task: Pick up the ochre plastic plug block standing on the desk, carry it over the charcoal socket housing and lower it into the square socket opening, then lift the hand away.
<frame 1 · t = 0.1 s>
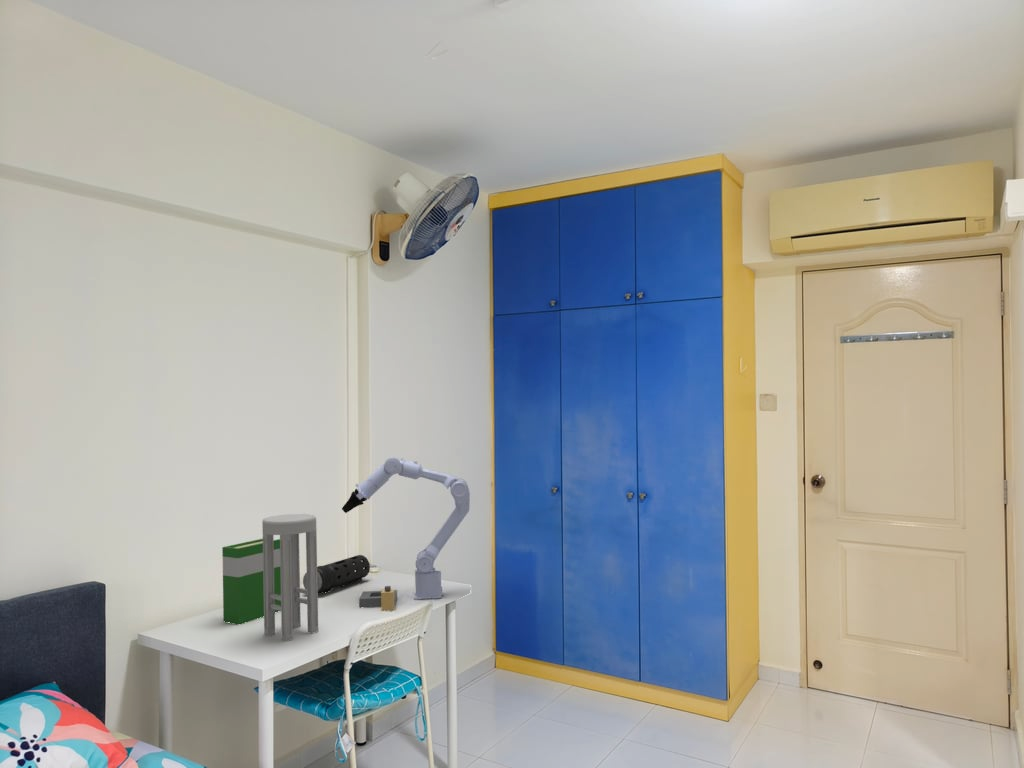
hand: (345, 509, 260), 32 cm above the table, tool tilted 50°, fingers open, 7 cm apart
muzzle brake: (337, 589, 277), on the table
socket housing: (378, 603, 254), on the table
plug: (388, 609, 246), on the table
stool: (291, 633, 223), on the table
hardback book: (253, 616, 242), on the table
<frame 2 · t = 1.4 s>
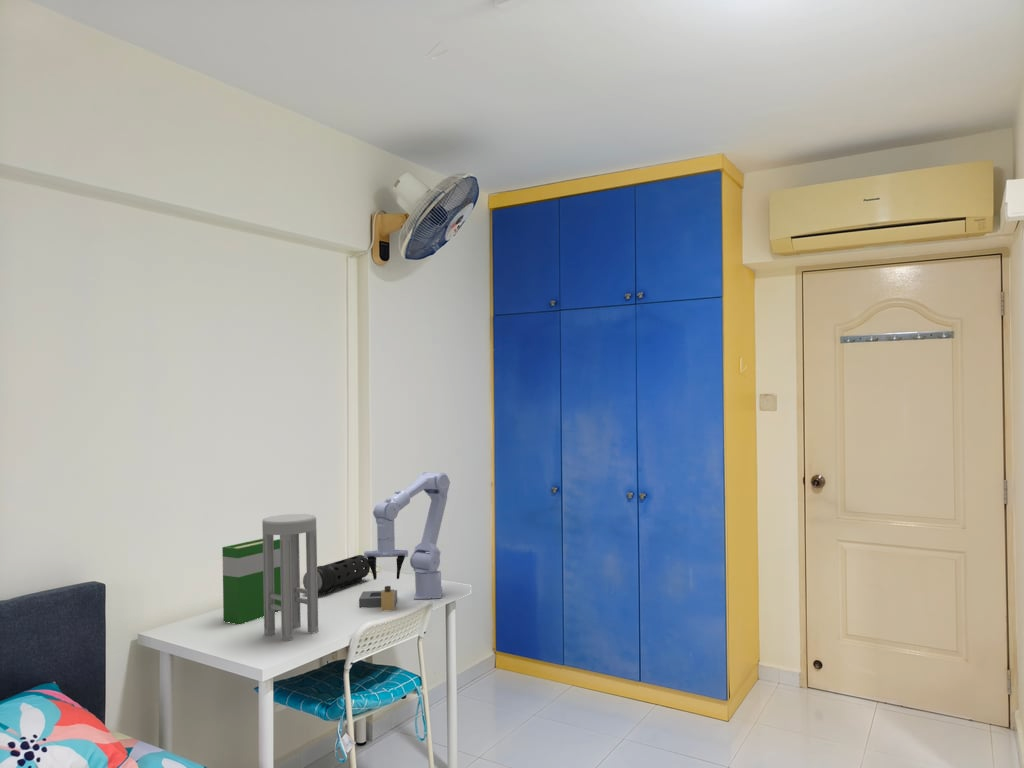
hand: (386, 578, 247), 10 cm above the table, tool pointing down, fingers open, 7 cm apart
nothing on the table moved.
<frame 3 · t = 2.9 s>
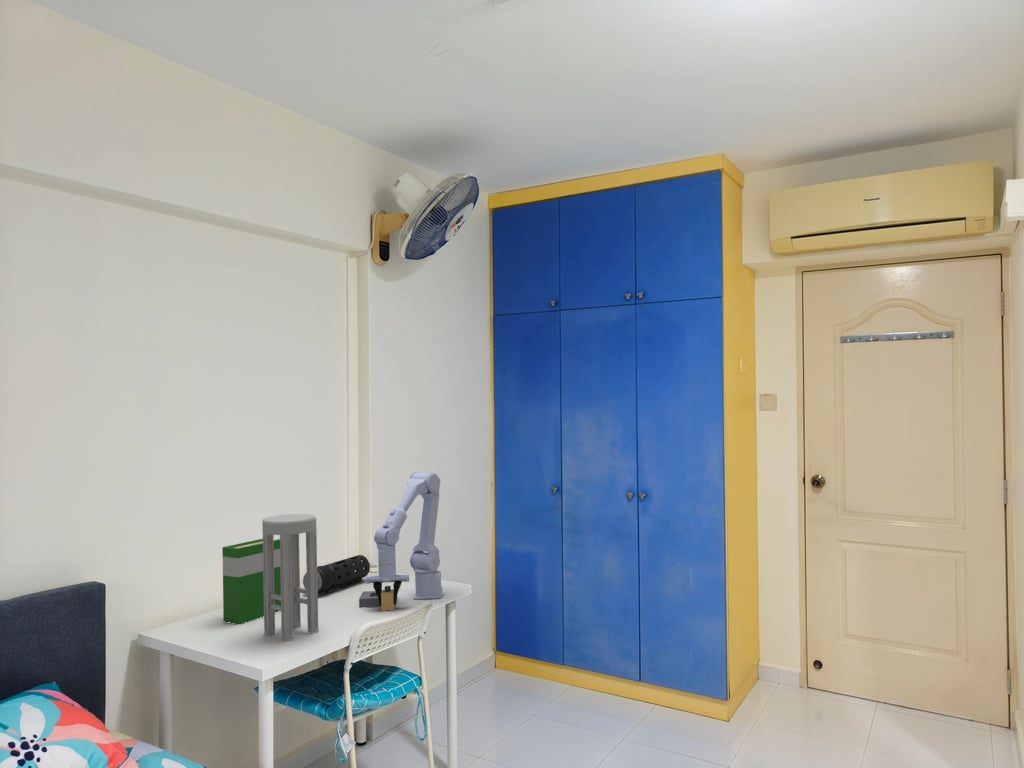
hand: (388, 604, 246), 2 cm above the table, tool pointing down, fingers closed on plug, 4 cm apart
plug: (388, 608, 246), on the table, touching gripper
everything else where it was.
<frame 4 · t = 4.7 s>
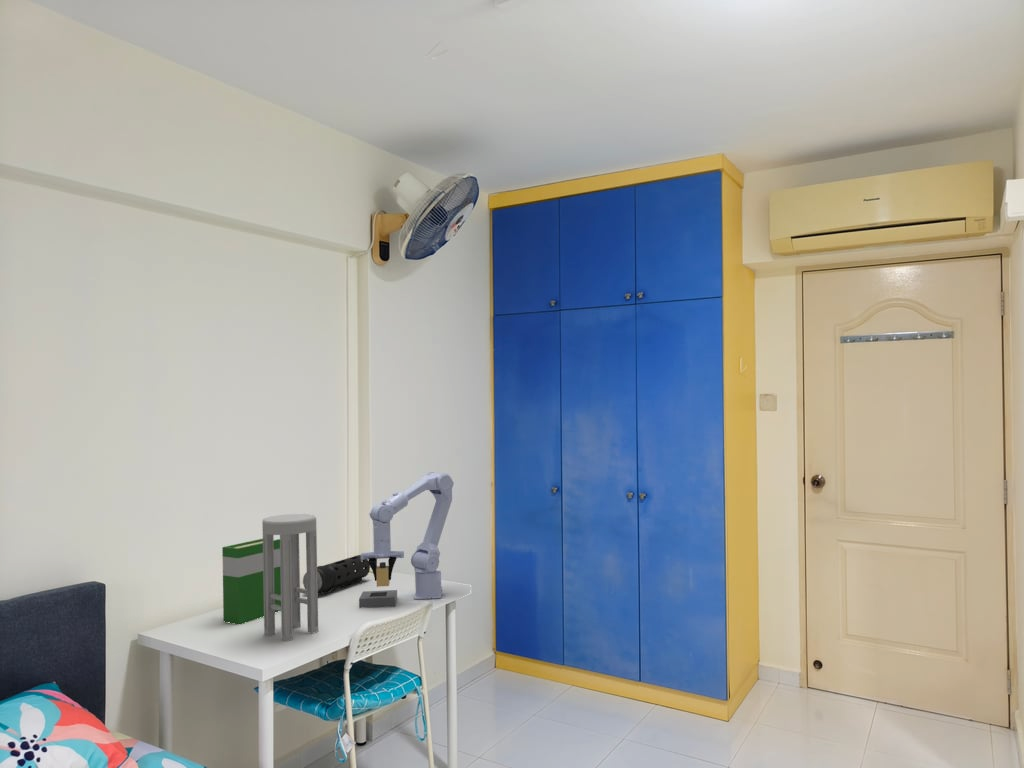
hand: (383, 579, 250), 9 cm above the table, tool pointing down, fingers closed on plug, 4 cm apart
plug: (383, 584, 250), point 7 cm above the table, touching gripper
everything else where it was.
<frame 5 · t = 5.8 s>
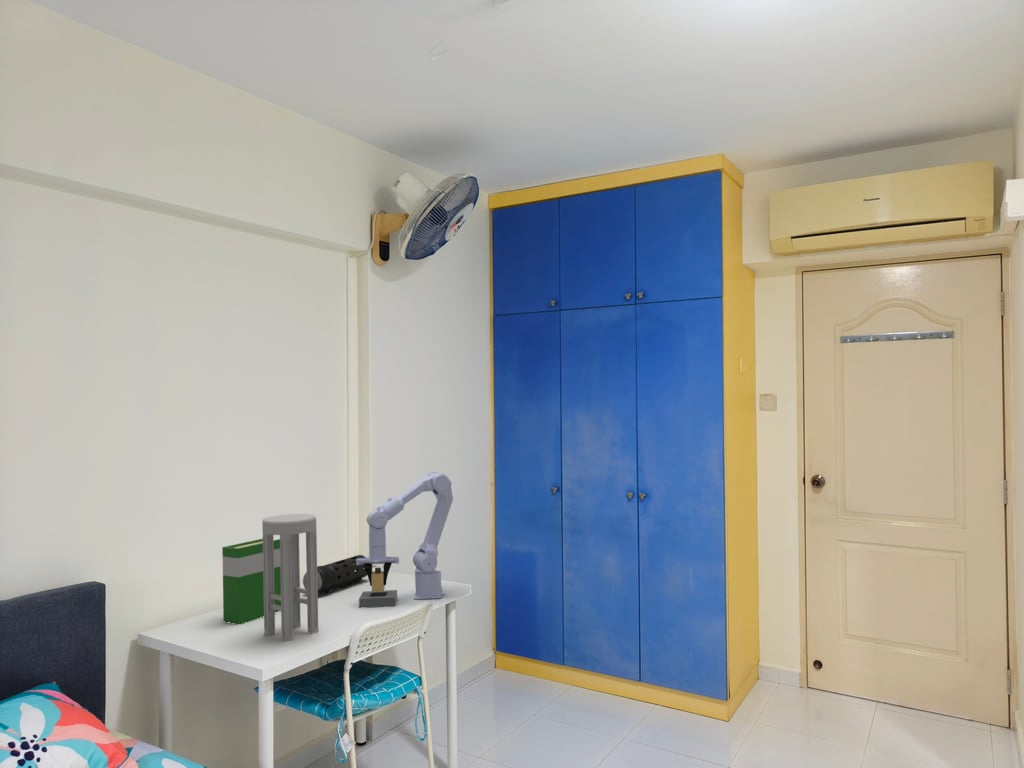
hand: (378, 584, 254), 6 cm above the table, tool pointing down, fingers closed on plug, 4 cm apart
plug: (378, 589, 254), point 5 cm above the table, touching gripper
everything else where it was.
when the fingers open (4 cm above the table, at t = 6.7 s): plug drops 2 cm, resting in socket housing.
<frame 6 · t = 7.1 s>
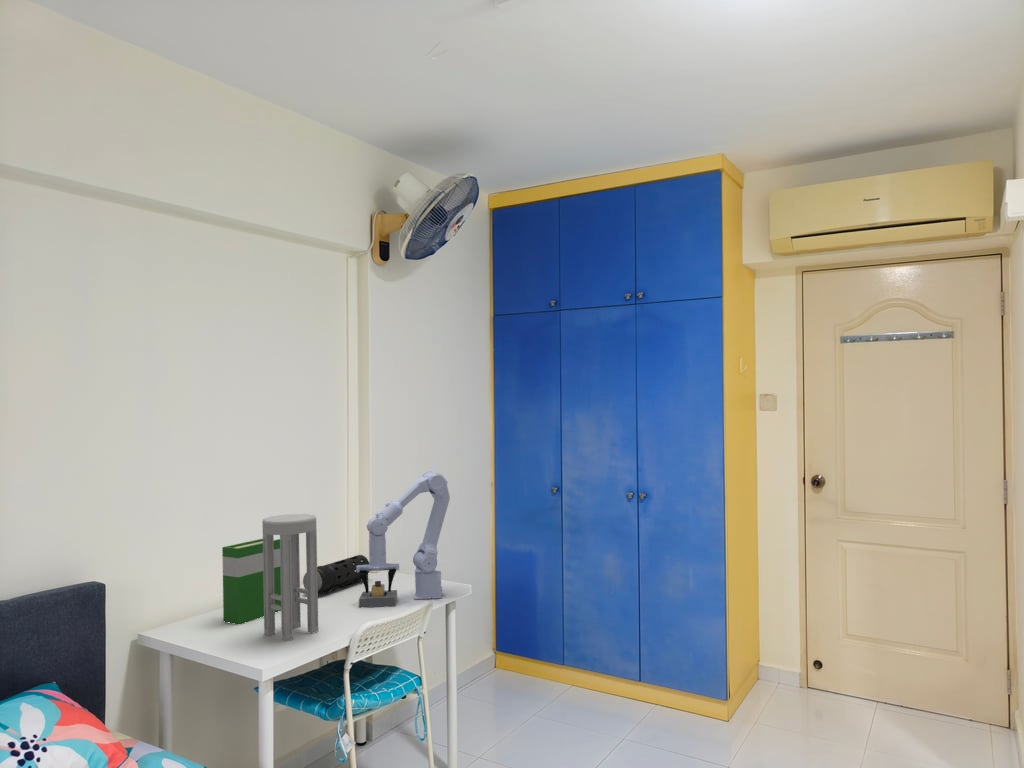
hand: (378, 591, 254), 4 cm above the table, tool pointing down, fingers open, 7 cm apart
plug: (378, 603, 254), resting in socket housing
everything else where it was.
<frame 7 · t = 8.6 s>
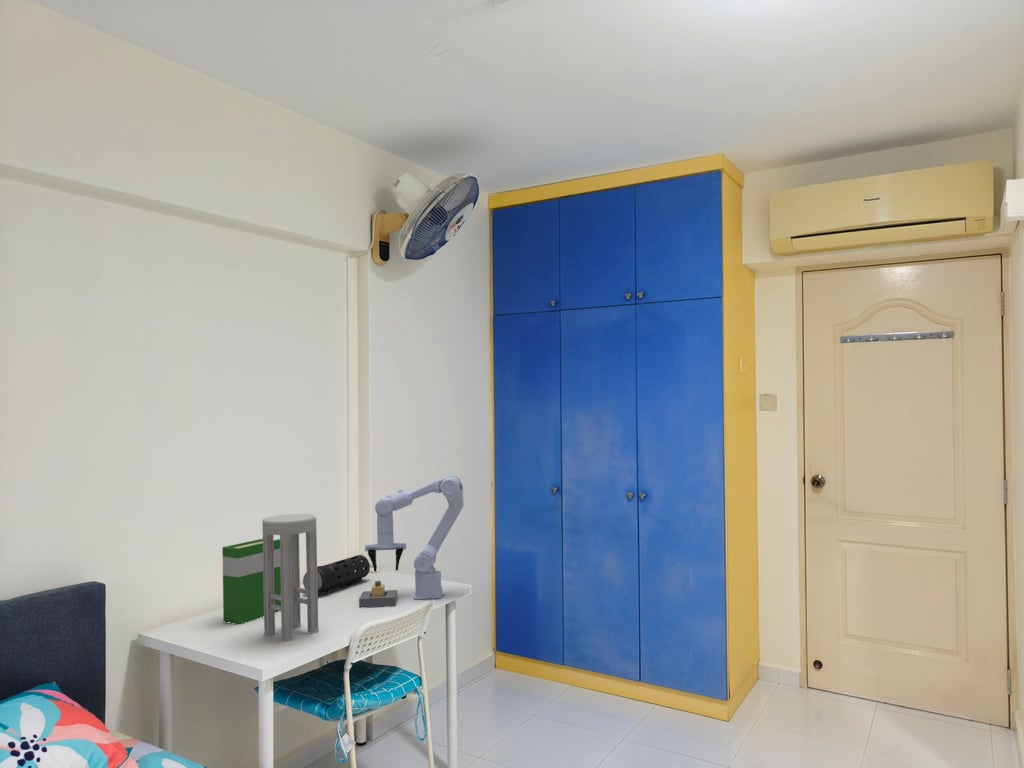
hand: (386, 570, 262), 9 cm above the table, tool pointing down, fingers open, 7 cm apart
nothing on the table moved.
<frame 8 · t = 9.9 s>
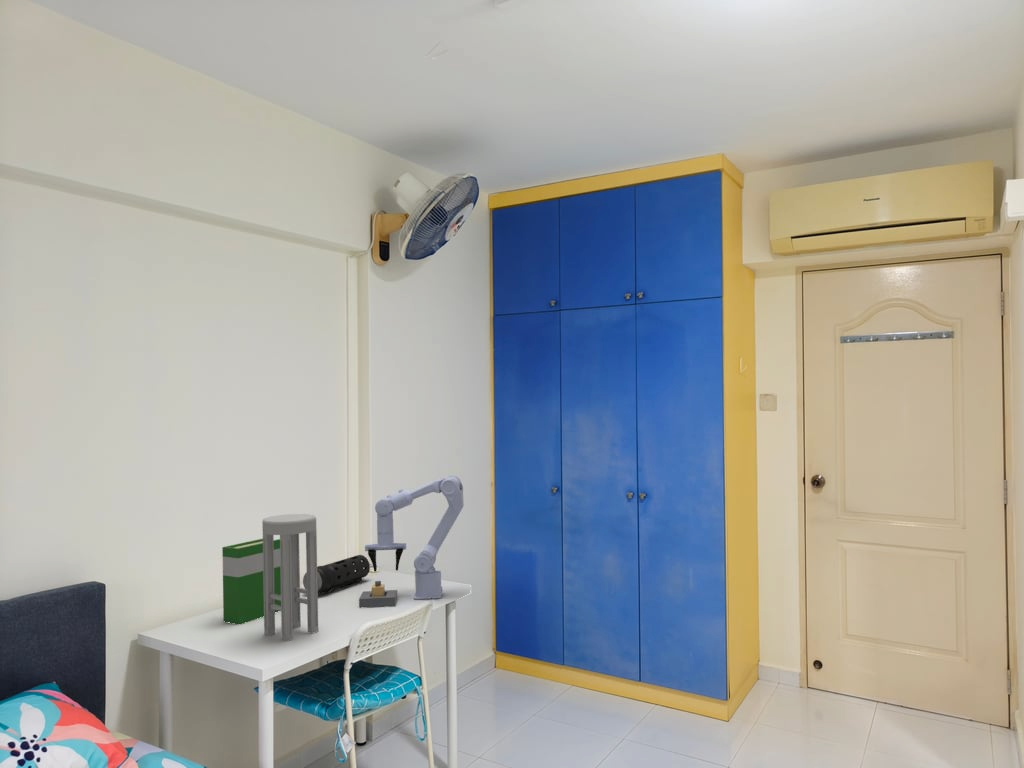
hand: (386, 570, 263), 9 cm above the table, tool pointing down, fingers open, 7 cm apart
nothing on the table moved.
at the end: plug 0.1 cm off-centre on the socket housing, point 0.0 cm above the socket housing's base; plug tilted 0°; the gripper is holding nothing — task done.
